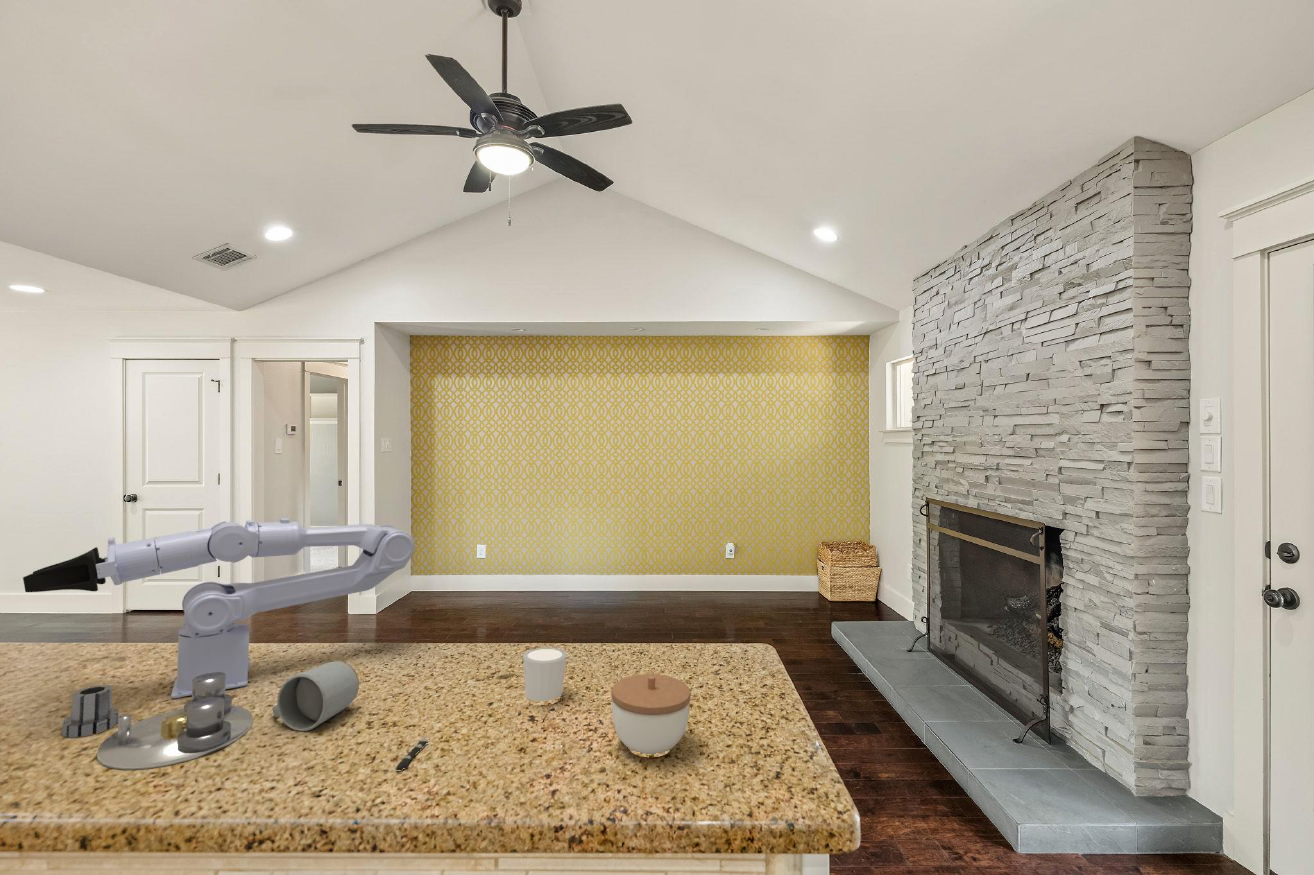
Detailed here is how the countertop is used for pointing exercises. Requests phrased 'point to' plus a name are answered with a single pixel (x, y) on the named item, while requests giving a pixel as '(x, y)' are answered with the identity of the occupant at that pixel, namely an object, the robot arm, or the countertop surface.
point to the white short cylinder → (544, 673)
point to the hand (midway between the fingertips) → (29, 581)
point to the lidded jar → (650, 712)
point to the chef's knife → (412, 754)
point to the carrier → (178, 730)
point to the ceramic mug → (316, 695)
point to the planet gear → (91, 712)
